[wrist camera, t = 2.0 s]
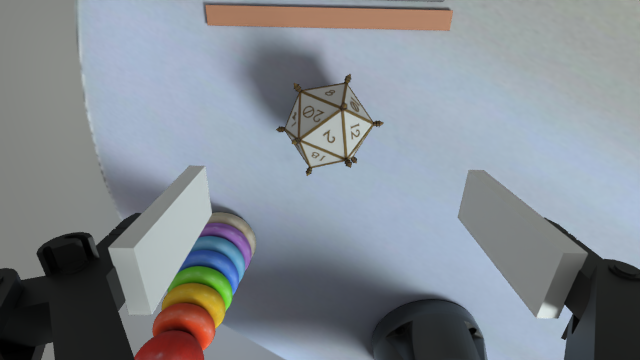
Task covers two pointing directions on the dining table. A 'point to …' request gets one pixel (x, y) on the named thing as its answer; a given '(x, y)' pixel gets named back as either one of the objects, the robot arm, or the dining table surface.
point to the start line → (328, 17)
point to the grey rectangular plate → (419, 0)
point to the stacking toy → (201, 290)
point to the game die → (328, 124)
